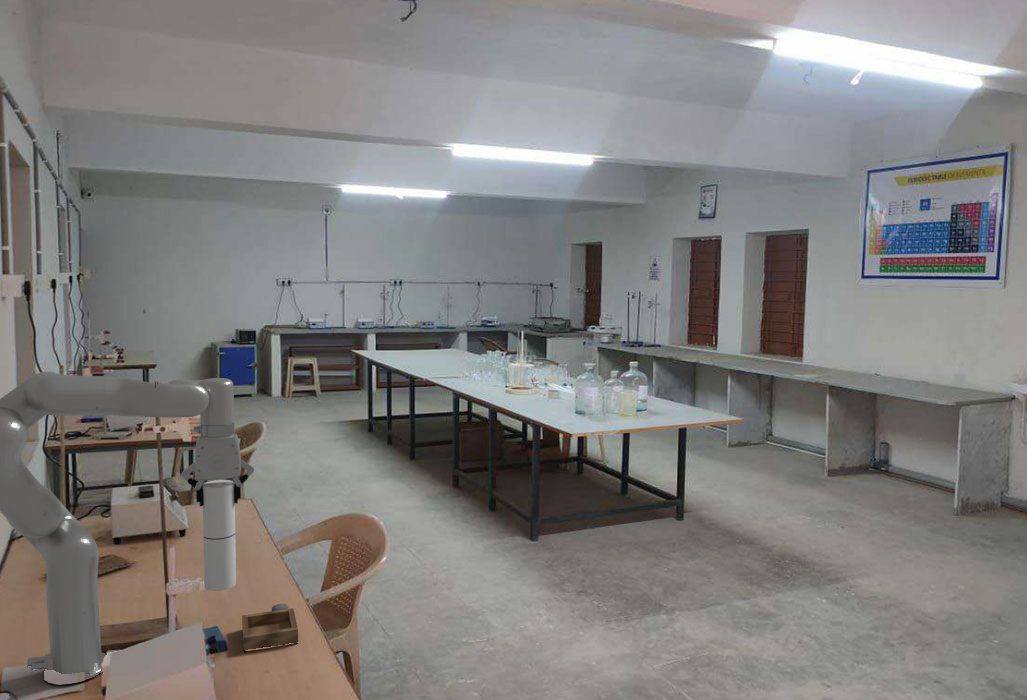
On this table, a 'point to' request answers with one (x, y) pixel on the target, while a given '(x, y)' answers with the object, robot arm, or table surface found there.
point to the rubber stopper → (279, 607)
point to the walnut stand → (269, 629)
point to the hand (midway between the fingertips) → (218, 502)
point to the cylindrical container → (219, 535)
